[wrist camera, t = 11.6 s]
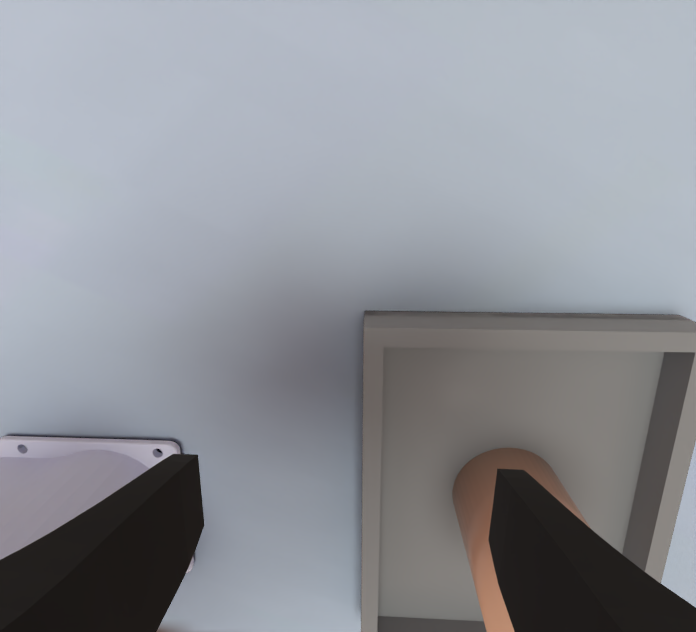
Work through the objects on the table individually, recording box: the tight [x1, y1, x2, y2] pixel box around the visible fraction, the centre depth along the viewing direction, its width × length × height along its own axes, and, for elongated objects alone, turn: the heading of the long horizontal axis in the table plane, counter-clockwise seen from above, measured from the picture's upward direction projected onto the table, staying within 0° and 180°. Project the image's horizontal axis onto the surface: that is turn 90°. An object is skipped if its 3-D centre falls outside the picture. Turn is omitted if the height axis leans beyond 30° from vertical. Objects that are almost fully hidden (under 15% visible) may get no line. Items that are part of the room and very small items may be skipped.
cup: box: [452, 448, 590, 632], centre depth 17 cm, size 5×5×8 cm
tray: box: [361, 311, 696, 632], centre depth 21 cm, size 14×18×2 cm
